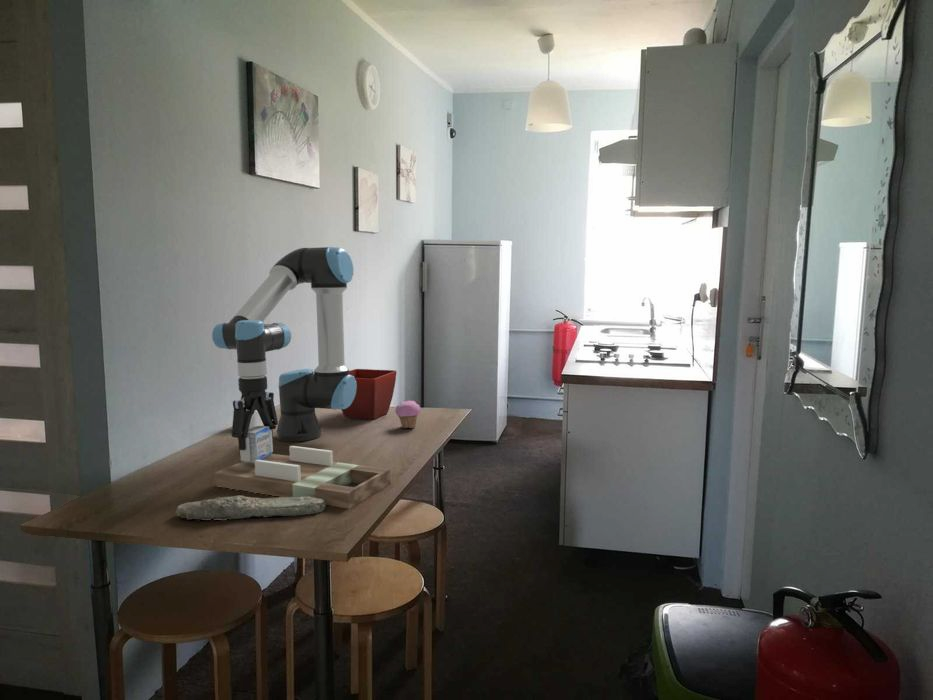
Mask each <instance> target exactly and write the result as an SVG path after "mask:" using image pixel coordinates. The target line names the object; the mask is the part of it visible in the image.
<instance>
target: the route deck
mask: <svg viewBox="0 0 933 700" xmlns="http://www.w3.org/2000/svg"><path fill="white" fill-rule="evenodd" d="M264 460H265V461H272V462H279V463H287V464H294V465H300V470H301V481H299V482H296V481H290V480H283V479H277V478H270V477H263V476H257V475H255V463H244V462H243V461H241V462H238V463H236V464H234V465H230V466H228V467H225V468H222V469H221V470H218V471H214V482H215V487H216V486H222V487H227V488H233V489H239V490H245V491H252V492H258V493H264V494H269V495H274V496H279V497H315V498H321V499H324V501H325V502H326V506H329V505H330V506H331V507H337V508H342V509H348V510H349V509H351V508H353V507H355V506H356V505H358V504H360V503H361V502H363V501H364V500H367V499H368V498H369V497H371V496H373V495H374V494H376V493H377V491H378V492H379V491H381V490H382V488H383V489H384V488H386V487H387V486H390V484H392V482H391V480H392V478H391V477H392V475H391V469H390V468H382V467H375V466H370V465H369V466H368V465H361V464H353V463H346V462H338V461H333V465H332V466H328V465H320V464H313V463H305V462H298V461H291V460H290V455H286V454H278V453H277V454H276V453H271V455H270V456H269V457H267V458H266V459H264ZM385 486H386V487H385ZM380 489H381V490H380ZM372 494H373V495H372ZM274 496H273V497H274Z"/></svg>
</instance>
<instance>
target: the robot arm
mask: <svg viewBox="0 0 933 700" xmlns="http://www.w3.org/2000/svg"><path fill="white" fill-rule="evenodd" d="M353 276H354V265H353V260H352V258H351V256H350V255H349V253H348V251H347V250H346V249H344V248H343V247H335V246H328V247H327V246H326V247H324V246H323V247H300V248H297V249H295V250H293V251H290V252H289V253H288V254H285V255H284V256H283V257H282V258H280V259H279V260H278V261H277V262H275V264H274V265H273V266H272V267H271V268H270V270H269V272H268V277H267V278H266V279H265V280H264V281H263V282H262V283H261V284H260V286H259V287H258V288H257V289H256V290H255V292H254V293H253V294H252V295H251V296H250V297H249V299H248V300H247V301H246V302H245V303H244V304H243V305H242V306H241V308H240V309H239V310H238V311H237V312H236V313H235V314H234V315H233V317H232V318H231V319H230V320H229V322H222V323H217V324H216V325H215V326H214V328H213V329H212V333H211V338H212V341H213V344H214V346H216V347H217V348H218V349H225V350H226V349H227V350H236V357H237V359H236V361H237V376H239V378H238V382H237V383H238V391H239V392H240V394H241V397H240V399H238V400H233V401H232V406H233V416H232V417H233V418H232V428H231V437H232V438H236V439H237V440H238V450H239V451H240V453H239V454H240V461H241V462H243V461H247V462H249V461H250V445H249V438H247V433H248V430H249V425H250V421H251V417H252V415H253V414H254V411H255V410H257V411H258V413H259V416H260V418H261V420H262V423H263V425H264V426H269V429H270V445H271V454H273V452H274V445H273V439H274V431H273V430H276V440H278V441H282V442H289V443H291V442H293V443H294V442H295V443H297V442H306V441H311V440H315V439H317V438H319V437H321V436H322V428H321V426H320V423H319V419H318V418H317V415H316V409H325V410H326V409H327V410H333V411H336V410H341V409H346V408H348V407H349V406H350V405H351V404H352V402H353V400H354V398H355V394H356V389H357V383H356V380H355V377H354V376H352V375H349V371H350V368H349V367H348V366H347V365H346V364H345V363H346V362H345V341H344V340H345V339H344V338H345V335H344V334H345V333H344V303H343V301H344V299H343V298H344V297H343V293H344V292H345V291H346V290H347V288H348V285H347V284H349V283H350V282H351V281H353ZM304 283H308V284H310V288H311V290H312V291H313V292H314V293H315V295H316V296H315V298H316V301H315V302H316V303H315V304H316V326H317V334H316V335H317V357H318V358H317V359H318V365H317V367H316V368H314V369H313V368H302V369H296V370H291V371H286V372H284V373H281V374H280V375H279V377H278V392H279V407H280V409H279V410H280V417H279V420H278V416H277V412H276V407H275V402H274V392H269V391H267V390H268V376H266V375H267V374H268V371H267V369H268V368H267V358H266V352H272V351H276V350H278V351H279V350H281V349H283V348H286V347H288V345H290V343H291V341H292V332H291V330H290V328H289V327H288V326H287V325H286V324H285V323H281V322H277V323H276V322H273V323H264V321H265V320H266V319H267V317H268V316H269V315H270V314H271V312H272V311H273V310H274V309H275V308H276V306H277V305H278V304H279V303H280V302H281V300H282V299H283V298H284V296H285V295H286V294H287V293H288V292H289V291H293V290H294V289H296V287H297V286H298V285H300V284H304ZM246 409H247V410H246ZM248 410H250V411H248ZM242 433H243V434H242Z"/></svg>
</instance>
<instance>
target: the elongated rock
mask: <svg viewBox="0 0 933 700" xmlns="http://www.w3.org/2000/svg"><path fill="white" fill-rule="evenodd" d="M326 507H327V505H326V502H325V501H324V499H321V498H315V497H265V498H263V497H262V498H261V497H252V496H251V497H250V496H244V495H233V496H224V497H219V496H218V497H216V498H213V499H204V500H200V501H199V500H198V501H193V502H191V501H190V502H188V501H187V502H185V503H182V504H179V505H178V506H177V507H176V510H175V515H176V516H177V517H179V516H180V517H179V518H181V517H182V518H187V519H186V520H192V519H229V520H240V519H244V518H246V519H249V518H251V517H259V518H261V517H263V518H265V517H266V518H268V517H269V518H270V517H282V516H283V517H299V515H301V516H305V515H307V514H308V515H312V514H313V515H314V514H319V512H320V513H322V512H323V511H325V510H326ZM297 515H298V516H297ZM182 518H181V519H182ZM190 518H191V519H190Z"/></svg>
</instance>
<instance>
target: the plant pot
mask: <svg viewBox="0 0 933 700" xmlns="http://www.w3.org/2000/svg"><path fill="white" fill-rule="evenodd" d="M397 372H398V371H397V370H392V369H391V370H390V369H370V368H369V369H368V368H355V369H349V375H352V376H354V377H355V380H356V383H357V389H356V394H355V398H354V400H353V402H352V404H351V405H350V406H349V407H348V408H346V409H340V410H341V413H342V414H343V416H344V418H345V417H349V418H348V419H355V418H359V419H358V420H369V419H371V420H372V421H373V420H375V419H377V418H380V417H382V416H383V415H386V414H388V413H389V410H390V407H391V403H392V400H393V396H394V391H395V388H396V387H395V386H396V381H397V380H396V379H397ZM379 416H380V417H379Z"/></svg>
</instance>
